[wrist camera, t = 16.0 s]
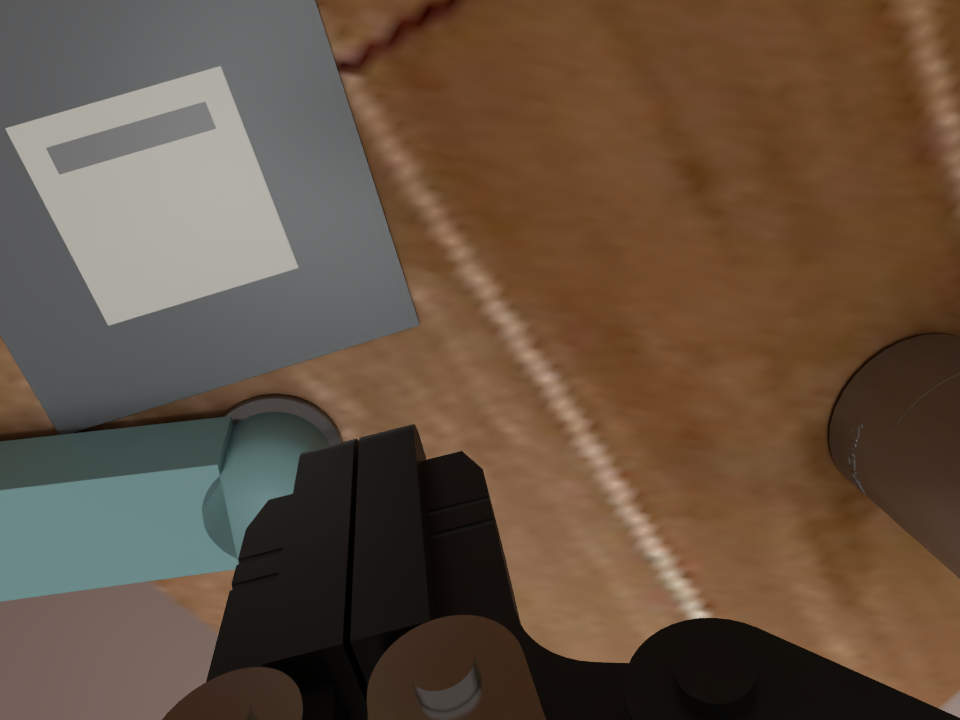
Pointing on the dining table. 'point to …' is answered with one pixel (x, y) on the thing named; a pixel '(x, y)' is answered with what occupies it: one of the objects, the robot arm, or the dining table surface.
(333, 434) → the pivot base
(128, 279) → the label panel
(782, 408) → the dining table surface
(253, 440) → the block
